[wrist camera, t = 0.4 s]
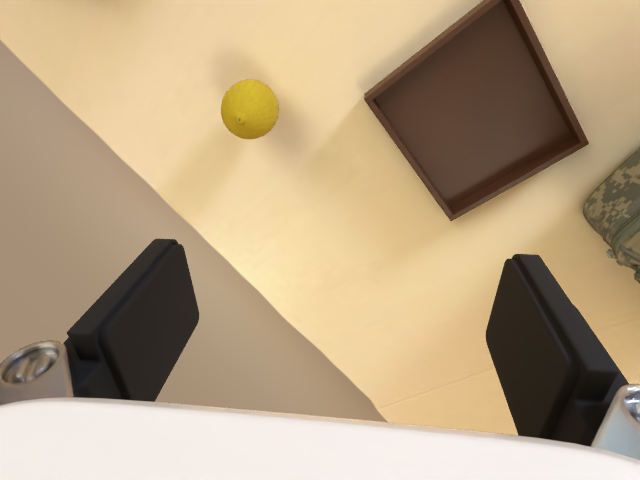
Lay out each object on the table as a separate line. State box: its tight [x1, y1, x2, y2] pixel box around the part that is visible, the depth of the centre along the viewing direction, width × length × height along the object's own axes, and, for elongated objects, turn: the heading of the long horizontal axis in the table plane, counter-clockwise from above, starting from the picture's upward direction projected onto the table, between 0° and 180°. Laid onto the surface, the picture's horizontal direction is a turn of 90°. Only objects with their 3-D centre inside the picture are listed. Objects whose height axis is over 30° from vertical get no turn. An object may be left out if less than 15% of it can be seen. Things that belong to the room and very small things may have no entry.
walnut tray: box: [364, 0, 589, 221], centre depth 40 cm, size 17×15×2 cm
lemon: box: [221, 80, 279, 139], centre depth 39 cm, size 6×6×8 cm
